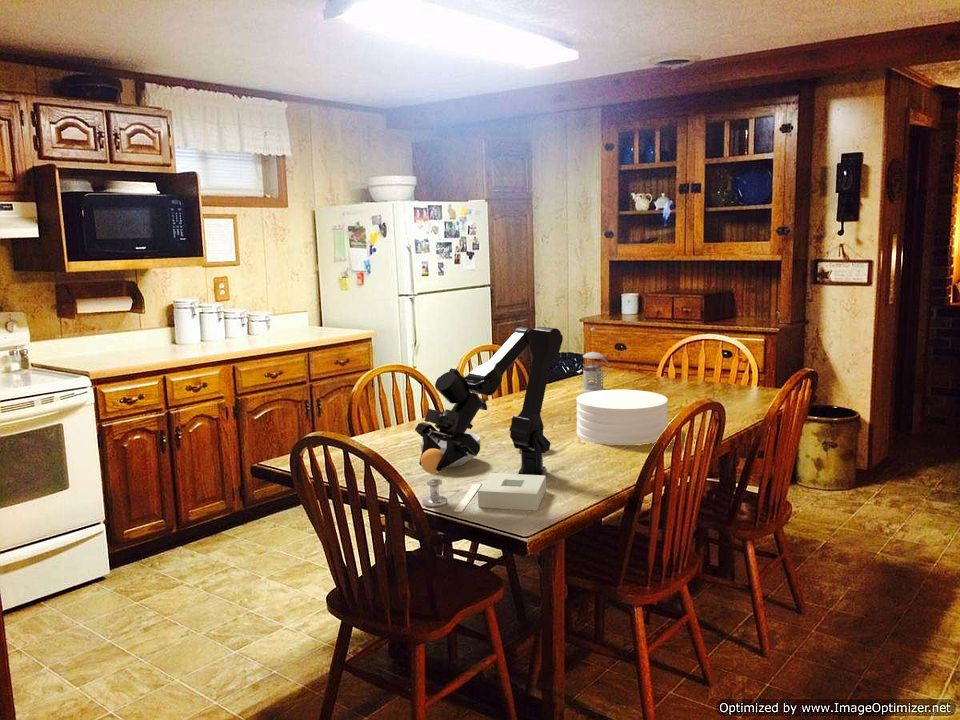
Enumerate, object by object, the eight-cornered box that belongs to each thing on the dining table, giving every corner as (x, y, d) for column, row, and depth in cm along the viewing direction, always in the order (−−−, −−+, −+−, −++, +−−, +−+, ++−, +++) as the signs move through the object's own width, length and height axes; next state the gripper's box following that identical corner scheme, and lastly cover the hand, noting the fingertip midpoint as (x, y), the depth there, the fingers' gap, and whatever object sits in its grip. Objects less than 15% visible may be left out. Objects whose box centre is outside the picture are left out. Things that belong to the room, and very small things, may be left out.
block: (491, 488, 204) (490, 473, 203) (545, 491, 200) (545, 475, 200) (478, 507, 190) (478, 490, 189) (536, 510, 187) (536, 494, 186)
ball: (425, 468, 196) (424, 445, 195) (449, 469, 195) (448, 445, 193) (418, 476, 190) (416, 452, 189) (442, 477, 189) (441, 453, 188)
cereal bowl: (448, 451, 238) (448, 427, 237) (492, 460, 228) (492, 436, 226) (408, 465, 225) (407, 440, 224) (453, 475, 215) (452, 450, 214)
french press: (576, 388, 322) (576, 326, 318) (602, 386, 325) (603, 325, 321) (587, 393, 313) (586, 329, 309) (614, 391, 316) (614, 328, 312)
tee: (426, 498, 197) (425, 476, 196) (450, 499, 196) (449, 478, 195) (419, 506, 191) (418, 484, 191) (443, 508, 190) (442, 485, 189)
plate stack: (669, 425, 262) (669, 390, 260) (665, 448, 236) (665, 410, 234) (583, 421, 270) (583, 388, 268) (570, 443, 243) (570, 407, 241)
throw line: (473, 484, 207) (473, 483, 207) (481, 485, 206) (481, 484, 206) (453, 511, 187) (453, 511, 187) (461, 512, 187) (461, 511, 187)
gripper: (419, 390, 199) (385, 442, 193) (469, 401, 185) (434, 457, 180) (444, 415, 205) (412, 466, 200) (495, 427, 192) (462, 483, 186)
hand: (428, 468), depth 191 cm, fingers closed on ball, 6 cm apart
